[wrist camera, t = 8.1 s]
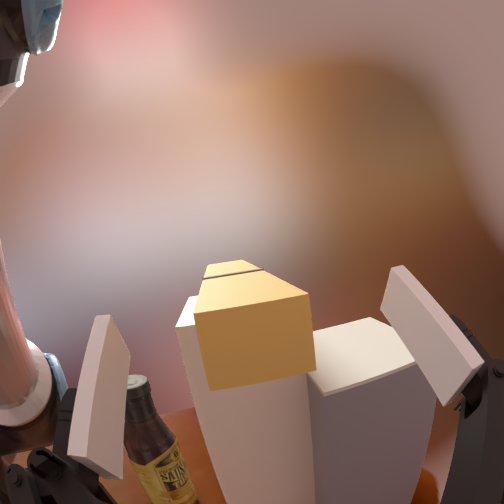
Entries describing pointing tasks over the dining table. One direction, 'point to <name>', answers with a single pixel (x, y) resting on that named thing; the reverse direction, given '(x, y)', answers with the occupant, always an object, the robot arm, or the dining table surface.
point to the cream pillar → (252, 430)
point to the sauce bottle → (154, 448)
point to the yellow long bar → (252, 326)
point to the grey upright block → (367, 415)
